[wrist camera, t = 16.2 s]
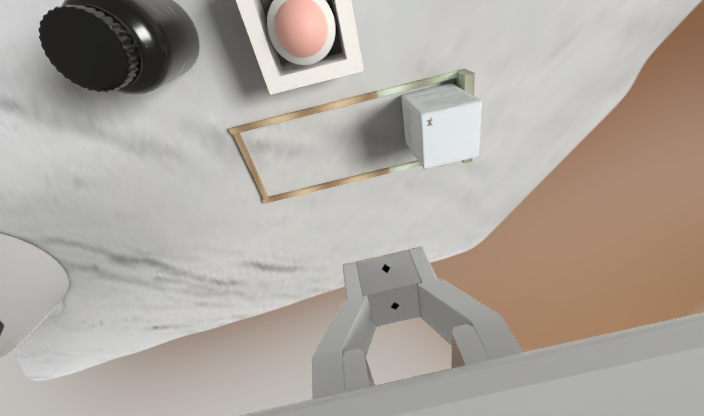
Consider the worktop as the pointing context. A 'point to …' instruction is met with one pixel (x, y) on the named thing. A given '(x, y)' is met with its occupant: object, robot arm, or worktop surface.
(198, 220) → the worktop surface
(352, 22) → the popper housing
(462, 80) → the track
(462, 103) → the product box
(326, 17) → the white pink rounded piece
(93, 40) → the supplement bottle
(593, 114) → the worktop surface
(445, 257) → the worktop surface
